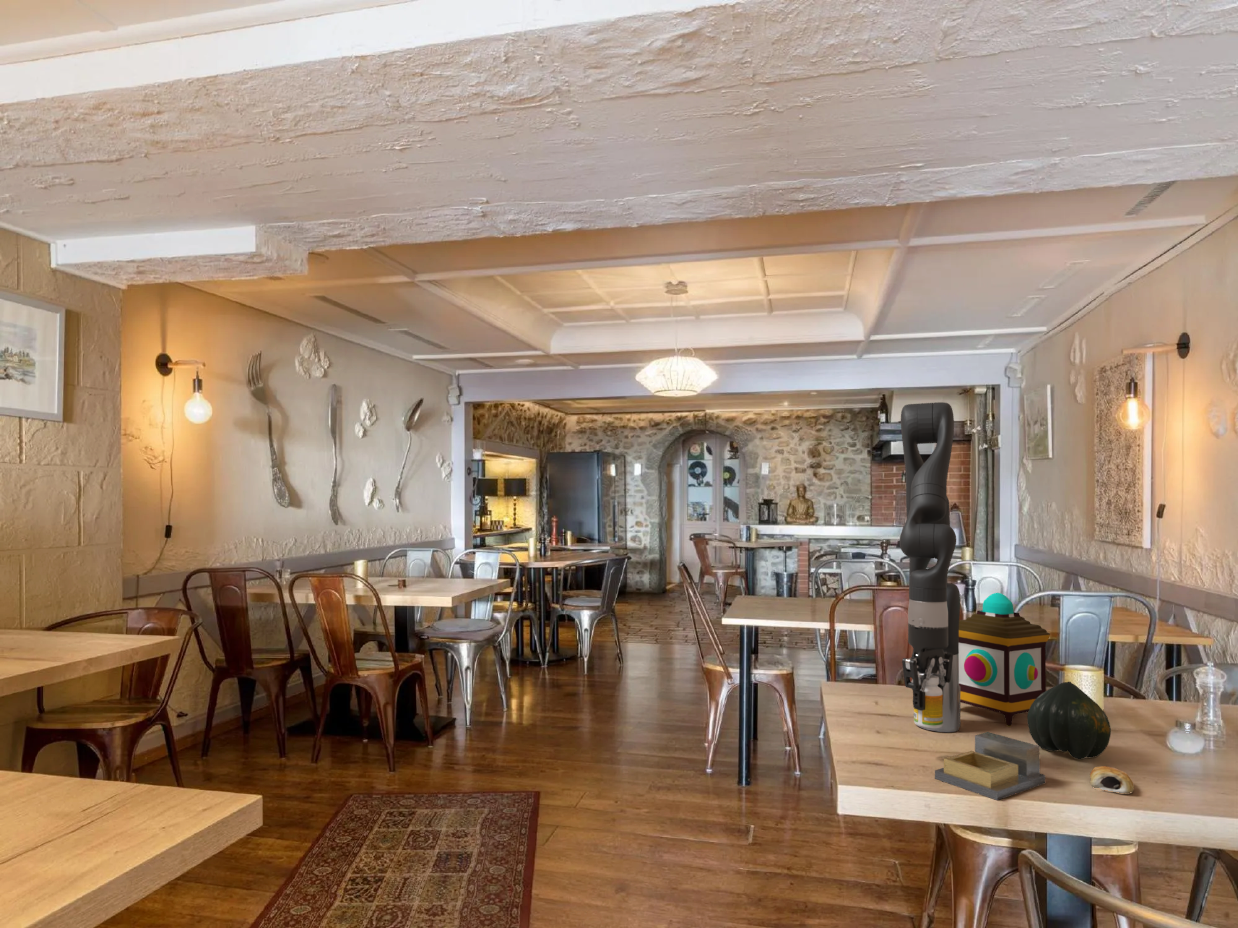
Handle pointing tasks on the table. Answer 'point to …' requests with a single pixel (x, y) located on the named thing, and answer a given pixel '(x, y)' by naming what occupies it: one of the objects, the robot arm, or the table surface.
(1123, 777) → the pastry
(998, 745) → the grey and tan tray
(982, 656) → the decorative lantern
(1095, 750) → the squash
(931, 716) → the supplement bottle
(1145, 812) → the table surface
